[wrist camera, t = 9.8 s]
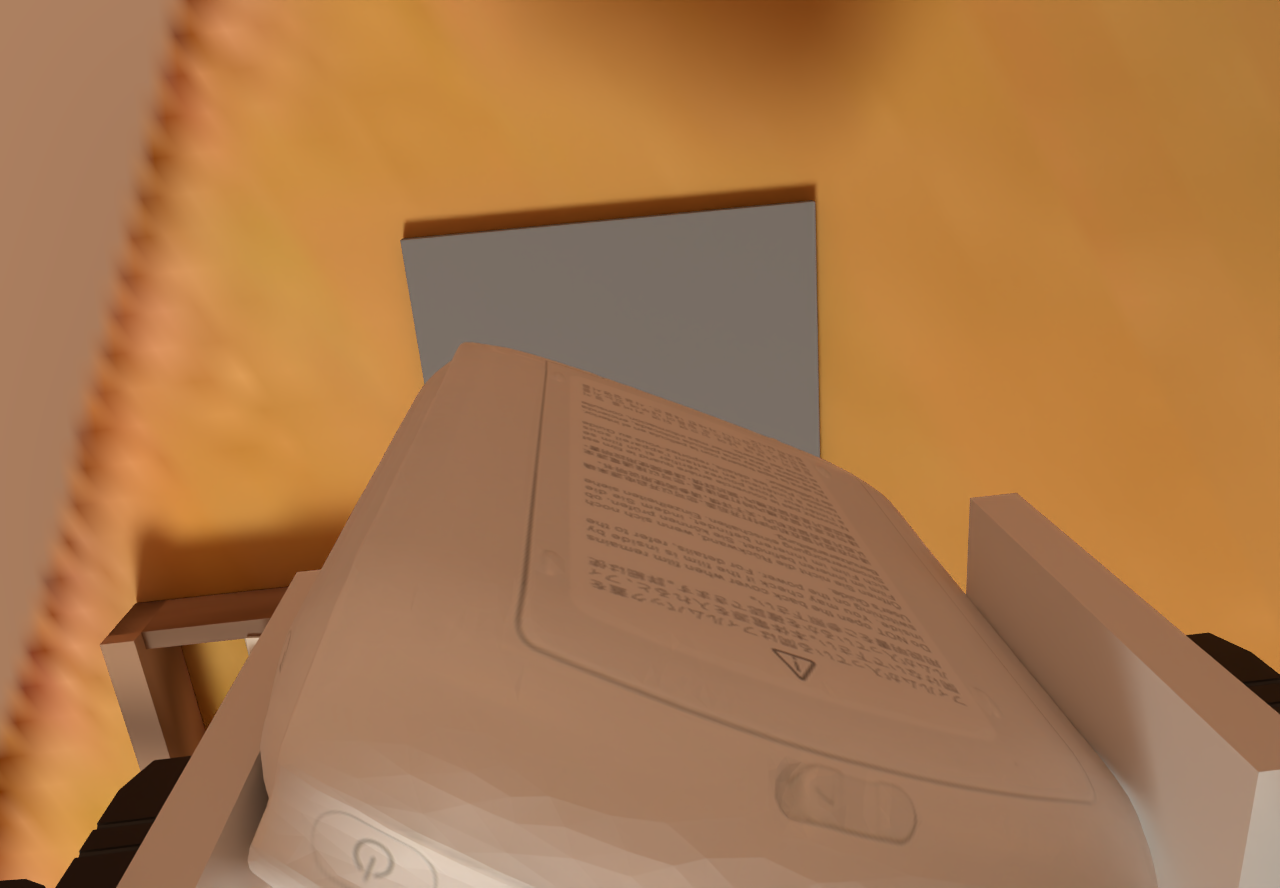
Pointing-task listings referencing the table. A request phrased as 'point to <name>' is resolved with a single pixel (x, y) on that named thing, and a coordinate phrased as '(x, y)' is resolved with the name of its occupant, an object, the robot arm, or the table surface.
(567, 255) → the mat
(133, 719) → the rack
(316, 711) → the photo printer
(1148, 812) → the robot arm
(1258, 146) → the table surface
